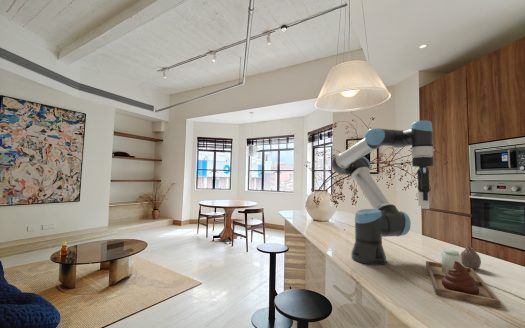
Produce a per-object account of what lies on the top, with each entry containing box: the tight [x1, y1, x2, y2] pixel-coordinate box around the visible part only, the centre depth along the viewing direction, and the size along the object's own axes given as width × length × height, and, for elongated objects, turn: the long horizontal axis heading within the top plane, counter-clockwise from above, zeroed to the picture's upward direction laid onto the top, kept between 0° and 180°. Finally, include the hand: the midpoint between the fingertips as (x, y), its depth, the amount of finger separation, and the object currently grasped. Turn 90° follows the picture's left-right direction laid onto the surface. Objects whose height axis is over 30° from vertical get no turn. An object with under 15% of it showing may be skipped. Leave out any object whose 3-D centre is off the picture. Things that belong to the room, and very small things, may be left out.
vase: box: [460, 246, 482, 271], centre depth 104 cm, size 7×7×9 cm
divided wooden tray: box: [425, 260, 502, 309], centre depth 88 cm, size 16×31×2 cm, turn 150°
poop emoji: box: [442, 261, 479, 295], centre depth 82 cm, size 10×8×9 cm
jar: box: [440, 248, 462, 275], centre depth 95 cm, size 6×6×9 cm
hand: (423, 207), depth 100 cm, fingers open, 13 cm apart
